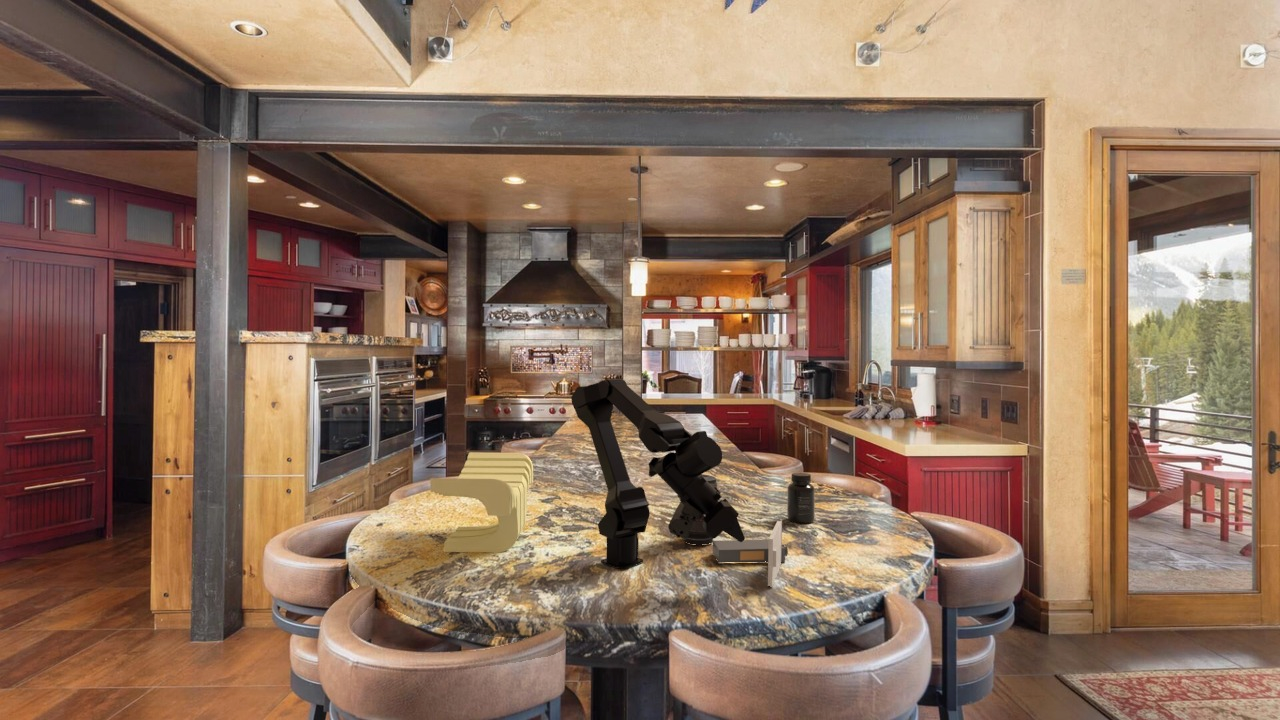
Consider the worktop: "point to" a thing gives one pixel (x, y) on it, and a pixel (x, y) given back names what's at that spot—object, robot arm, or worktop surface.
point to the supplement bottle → (801, 499)
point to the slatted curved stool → (490, 499)
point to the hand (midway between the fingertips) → (742, 540)
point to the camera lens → (700, 524)
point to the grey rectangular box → (744, 551)
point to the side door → (774, 552)
